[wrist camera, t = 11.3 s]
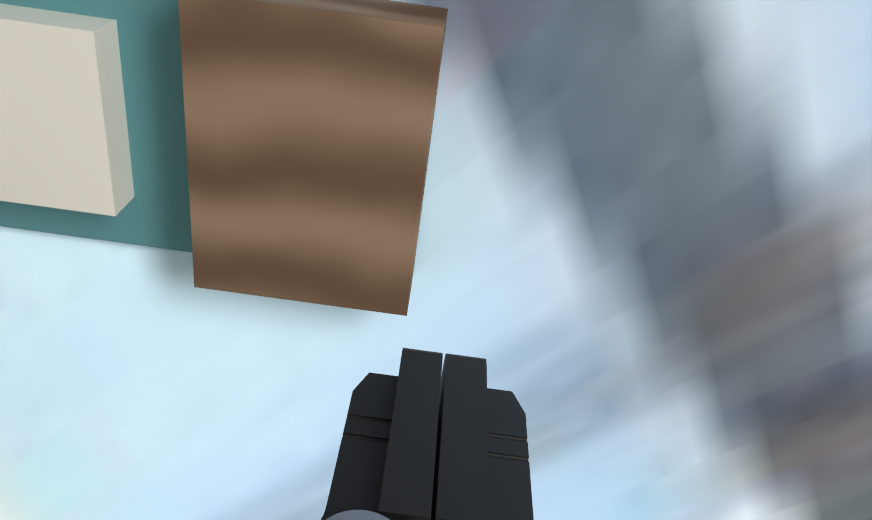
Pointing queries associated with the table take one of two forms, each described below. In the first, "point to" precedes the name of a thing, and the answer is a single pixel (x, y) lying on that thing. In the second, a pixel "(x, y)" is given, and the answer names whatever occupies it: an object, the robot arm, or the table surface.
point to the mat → (134, 132)
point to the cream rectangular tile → (62, 112)
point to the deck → (309, 145)
